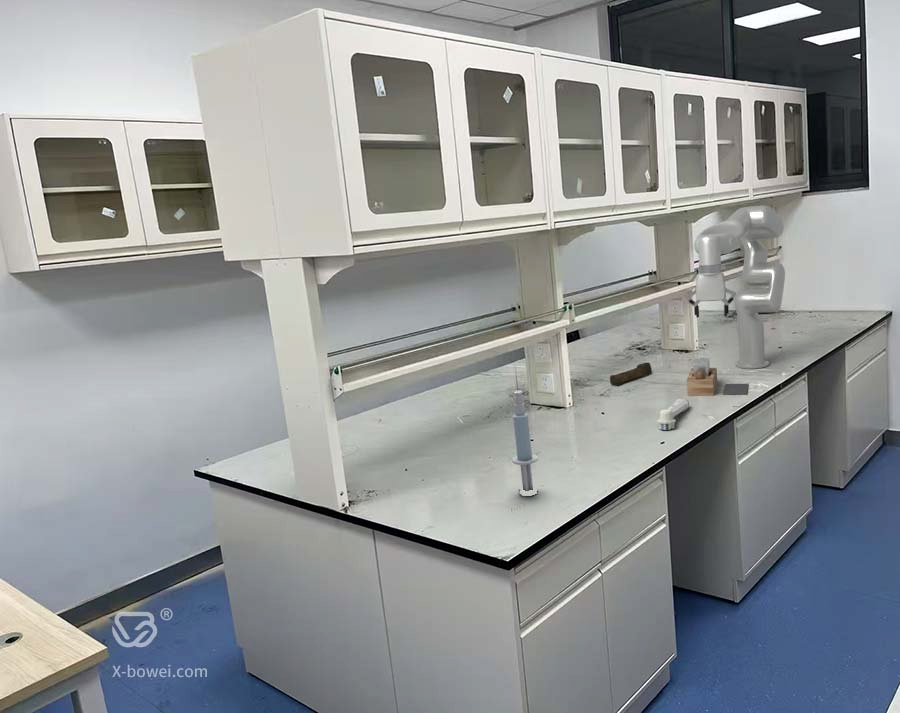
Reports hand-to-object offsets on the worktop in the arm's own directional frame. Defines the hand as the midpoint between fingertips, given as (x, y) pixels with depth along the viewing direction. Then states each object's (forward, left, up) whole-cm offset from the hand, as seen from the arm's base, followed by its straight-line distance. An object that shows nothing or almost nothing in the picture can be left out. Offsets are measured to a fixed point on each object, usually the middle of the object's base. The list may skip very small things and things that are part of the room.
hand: (711, 316), depth 261 cm
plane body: (+2, -4, -27) cm, 27 cm away
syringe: (+105, -39, -27) cm, 116 cm away
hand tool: (-14, -33, -27) cm, 45 cm away
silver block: (+2, -4, -24) cm, 24 cm away
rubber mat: (+3, +7, -27) cm, 28 cm away
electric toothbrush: (+40, -10, -28) cm, 49 cm away
